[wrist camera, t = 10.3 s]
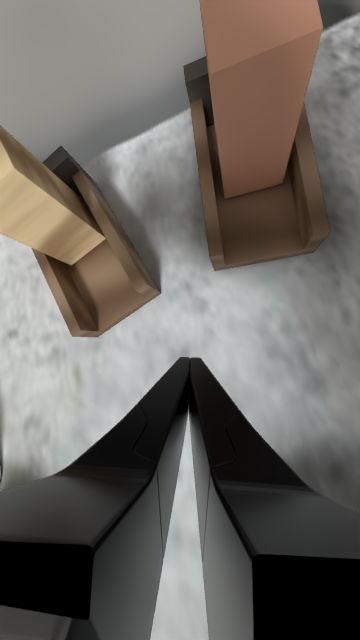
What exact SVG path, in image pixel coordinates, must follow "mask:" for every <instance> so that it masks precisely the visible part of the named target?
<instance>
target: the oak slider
mask: <svg viewBox="0 0 360 640" xmlns="http://www.w3.org/2000/svg"><path fill="white" fill-rule="evenodd" d="M0 234H2V235H5V236H7V237H9V238H11V239H13V240H16V241H18V242H20V243H22V244H25V245H27V246H29V247H31V248H33V249H36V250H38V251H40V252H42V253H45V254H47V255H49V256H51V257H53V258H56V259H58V260H60V261H62V262H65V263H67V264H69V265H71V266H72V265H73V264H74V263H75V262H77V261H78V260H79V259H81V258H82V257H83V256H84V255H86V254H87V253H88V252H89V251H91V250H92V249H93V248H95V247H96V246H97V245H98V244H100V243H101V242H102V241H103V240H105V239H106V238H105V236H104V234H103V232H102V230H101V229H100V227H99V225H98V223H97V222H96V220H95V218H94V216H93V214H92V213H91V211H90V209H89V207H88V206H87V204H86V202H85V201H84V200H83V199H82V198H81V197H79V196H78V195H77V194H76V193H75V192H74V191H73V190H72V189H71V188H69V187H68V186H67V185H66V184H65V183H64V182H63V181H62V180H61V179H59V178H58V177H57V176H56V175H55V174H54V173H53V172H52V171H51V170H49V169H48V168H47V167H46V166H45V165H44V164H43V163H42V162H40V161H39V160H38V159H37V158H36V157H35V156H34V155H33V154H32V153H31V152H29V151H28V150H27V149H26V148H25V147H23V145H22V144H20V143H19V142H18V141H17V140H16V139H15V138H14V137H13V136H12V135H10V134H9V133H8V132H7V131H6V130H5V129H4V128H3V127H2V126H0Z"/></svg>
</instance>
